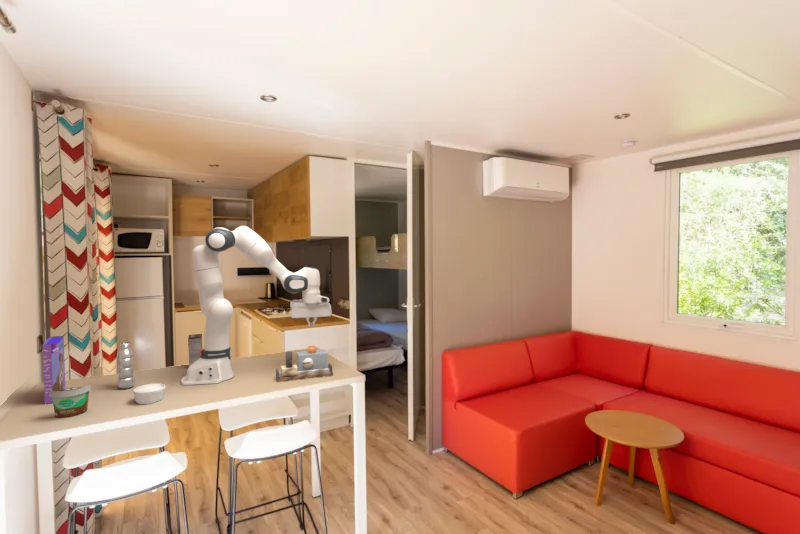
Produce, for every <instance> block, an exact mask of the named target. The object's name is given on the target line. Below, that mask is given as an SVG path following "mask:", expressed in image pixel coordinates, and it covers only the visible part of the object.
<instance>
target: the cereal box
mask: <svg viewBox="0 0 800 534" xmlns="http://www.w3.org/2000/svg"><path fill="white" fill-rule="evenodd" d="M65 368H66V367H65V337H64V335H55V336H49V337H47V339H46V340H45V341H44V342H43V344H42V370H43V372H42V373H43V396H44V399H43V400H44V405H45V404H46V405H51V404H52V405H53V401H52V397H50V396H49V394H50V391H51V390H52V391H60V390H64V389H66V369H65Z"/></svg>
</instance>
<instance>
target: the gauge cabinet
mask: <svg viewBox="0 0 800 534" xmlns="http://www.w3.org/2000/svg"><path fill="white" fill-rule="evenodd" d="M296 366H297V368H298V371H306V370H316V369H325V368H328V352H327V351H326V350H325V349H316V353H313V354H309V353H308V350H305V351H296Z"/></svg>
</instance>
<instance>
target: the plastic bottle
mask: <svg viewBox="0 0 800 534" xmlns="http://www.w3.org/2000/svg"><path fill="white" fill-rule="evenodd" d="M134 357H135V352H134V351H133V350H132V349H131V342H130V341H129V342H128V341H127V342H126V341H125V342H121V343H119V350H118V351H117V353H116V362H117V368H118V369H117V370H118V374H117V375H118V377H117V382H116V383H117V387H118V388H119V389H129V388H132V387H133V386H134V385H135V384H136V377H135V375H134V359H135V358H134Z"/></svg>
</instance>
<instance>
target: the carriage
mask: <svg viewBox="0 0 800 534" xmlns="http://www.w3.org/2000/svg"><path fill="white" fill-rule="evenodd" d="M280 372H281V373H282V377H284V376H294V375H297V373H298V368H297V364H293V351H286V352H285V365H281V366H280Z"/></svg>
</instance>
